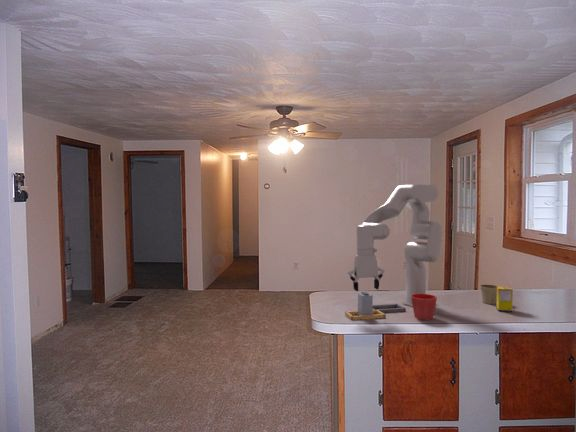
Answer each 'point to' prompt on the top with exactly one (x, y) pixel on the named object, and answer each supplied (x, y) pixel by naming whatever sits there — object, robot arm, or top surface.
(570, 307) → the top surface
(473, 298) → the top surface
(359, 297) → the plug
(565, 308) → the top surface
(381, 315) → the tan grey double frame
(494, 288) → the flower pot
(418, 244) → the robot arm
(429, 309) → the flower pot
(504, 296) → the supplement box
